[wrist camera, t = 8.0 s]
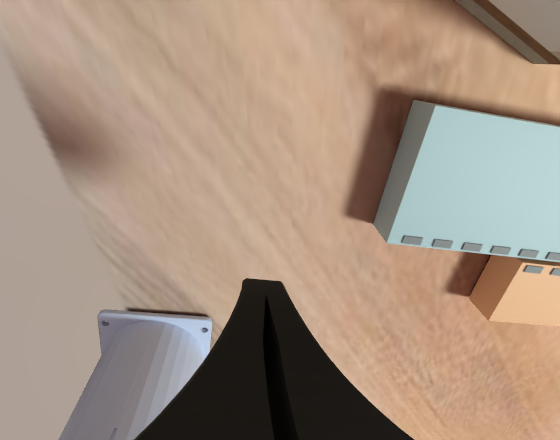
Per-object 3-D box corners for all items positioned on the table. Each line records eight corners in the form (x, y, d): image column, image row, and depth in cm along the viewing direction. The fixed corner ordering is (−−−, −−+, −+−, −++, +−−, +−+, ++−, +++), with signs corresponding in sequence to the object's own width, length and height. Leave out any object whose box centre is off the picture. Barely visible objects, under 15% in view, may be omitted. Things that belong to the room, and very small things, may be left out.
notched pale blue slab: (541, 244, 24) (573, 264, 21) (373, 224, 22) (387, 243, 19) (607, 133, 20) (653, 143, 18) (413, 99, 18) (436, 105, 16)
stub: (578, 308, 27) (608, 330, 24) (468, 298, 25) (489, 321, 23) (615, 257, 24) (651, 277, 22) (497, 243, 23) (523, 263, 21)
